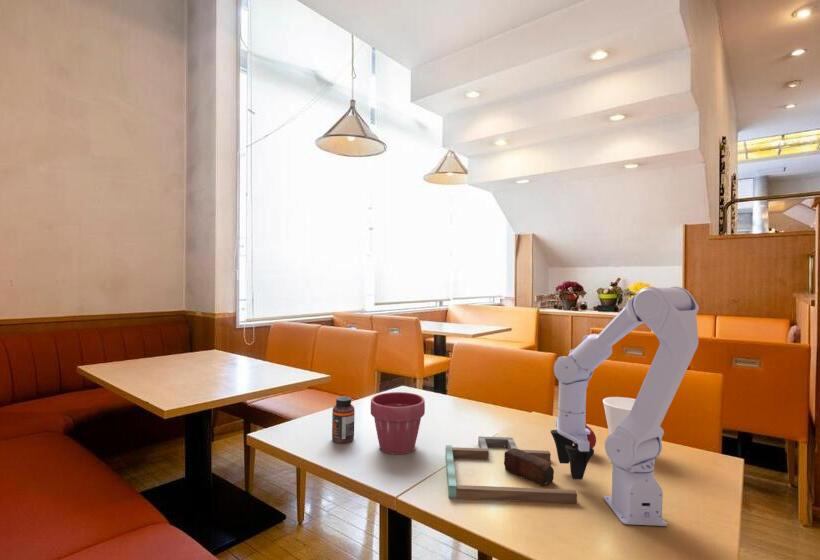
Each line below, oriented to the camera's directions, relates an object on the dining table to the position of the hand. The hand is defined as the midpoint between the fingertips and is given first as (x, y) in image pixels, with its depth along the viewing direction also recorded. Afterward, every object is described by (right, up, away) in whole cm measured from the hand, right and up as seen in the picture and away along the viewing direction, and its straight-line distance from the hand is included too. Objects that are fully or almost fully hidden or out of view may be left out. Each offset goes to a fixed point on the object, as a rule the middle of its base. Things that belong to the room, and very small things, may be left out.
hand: (570, 470), depth 97 cm
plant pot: (-39, -1, +16) cm, 42 cm away
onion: (+9, -2, +15) cm, 17 cm away
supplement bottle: (-54, -1, +21) cm, 58 cm away
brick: (-9, -2, +1) cm, 10 cm away
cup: (+21, -2, +17) cm, 27 cm away
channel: (-15, -2, +5) cm, 15 cm away
